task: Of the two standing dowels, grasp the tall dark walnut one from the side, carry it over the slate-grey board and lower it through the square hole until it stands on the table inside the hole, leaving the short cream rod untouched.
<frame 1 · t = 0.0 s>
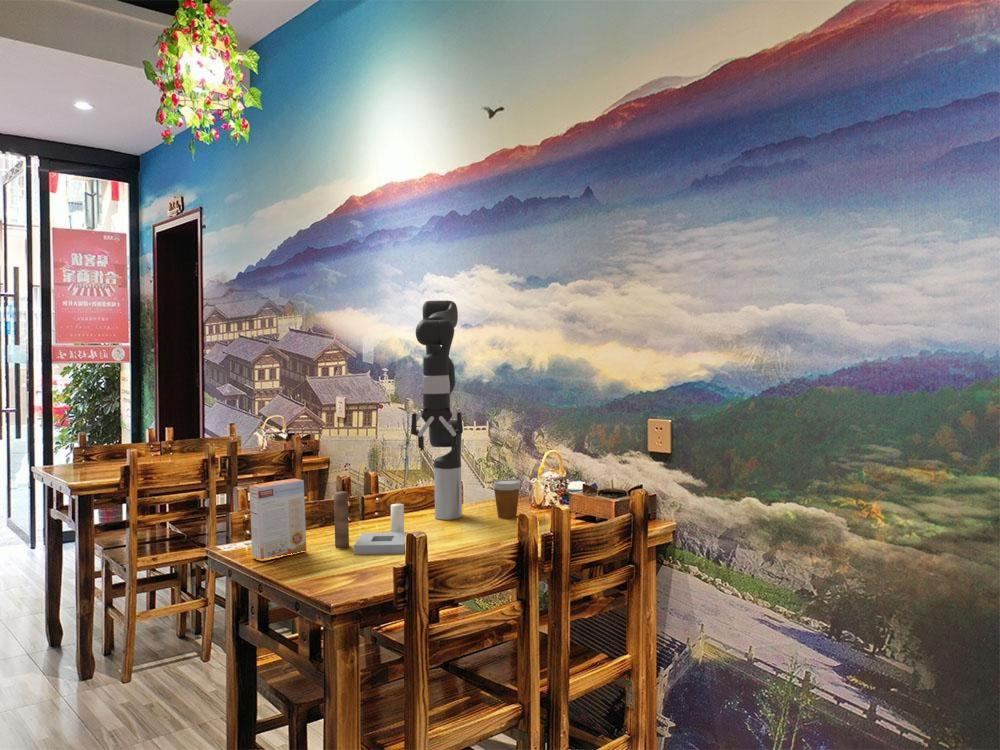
hand: (437, 449, 205), 29 cm above the table, tool pointing down, fingers open, 8 cm apart
disposable coffee cup: (507, 517, 250), on the table
walnut dowel: (342, 547, 215), on the table
cream rod: (397, 537, 225), on the table
board: (382, 547, 214), on the table
cracker box: (279, 556, 207), on the table
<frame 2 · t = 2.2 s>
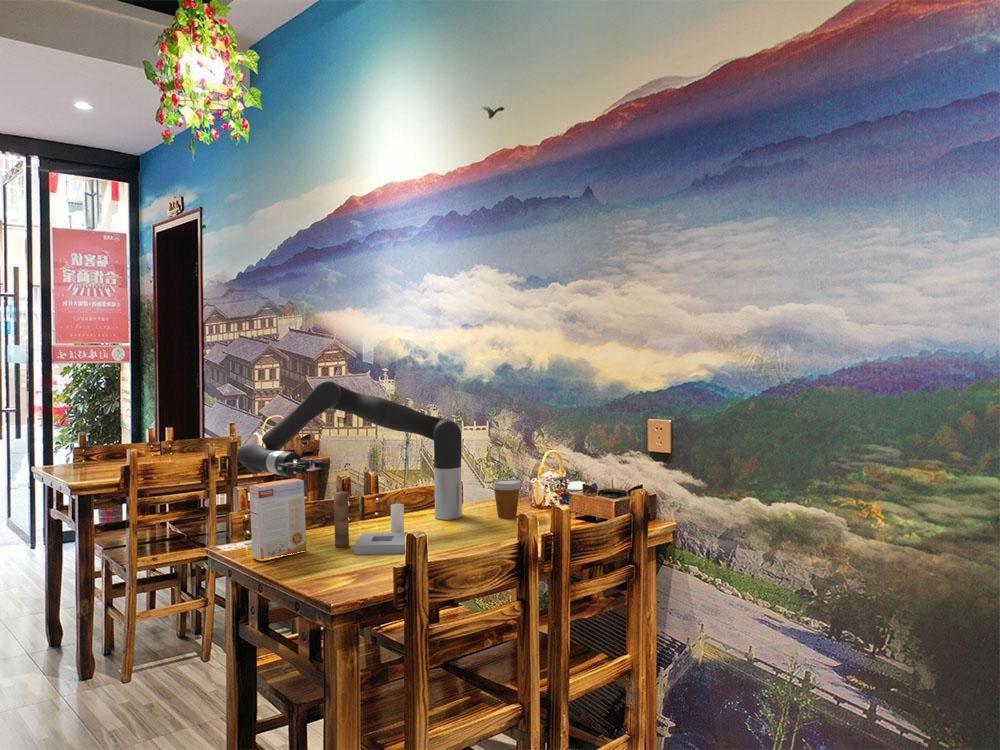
hand: (317, 468, 220), 22 cm above the table, tool horizontal, fingers open, 8 cm apart
nothing on the table moved.
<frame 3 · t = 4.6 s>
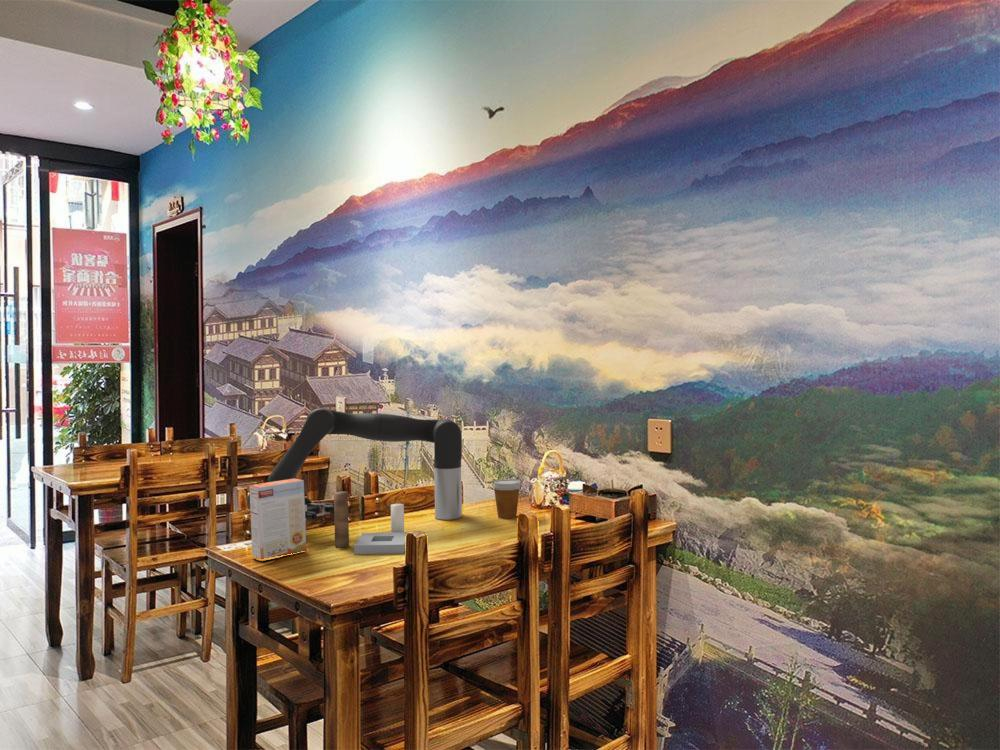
hand: (327, 514, 219), 9 cm above the table, tool horizontal, fingers open, 8 cm apart
nothing on the table moved.
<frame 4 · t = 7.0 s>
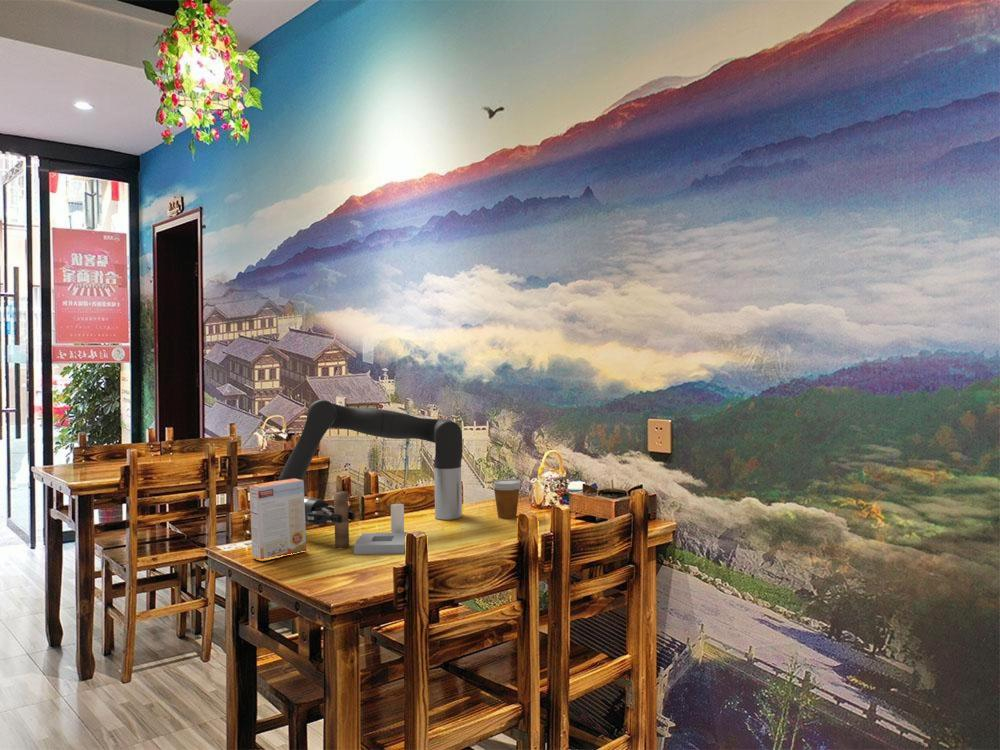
hand: (347, 517, 213), 9 cm above the table, tool horizontal, fingers closed on walnut dowel, 4 cm apart
walnut dowel: (342, 547, 215), on the table, touching gripper
everything else where it was.
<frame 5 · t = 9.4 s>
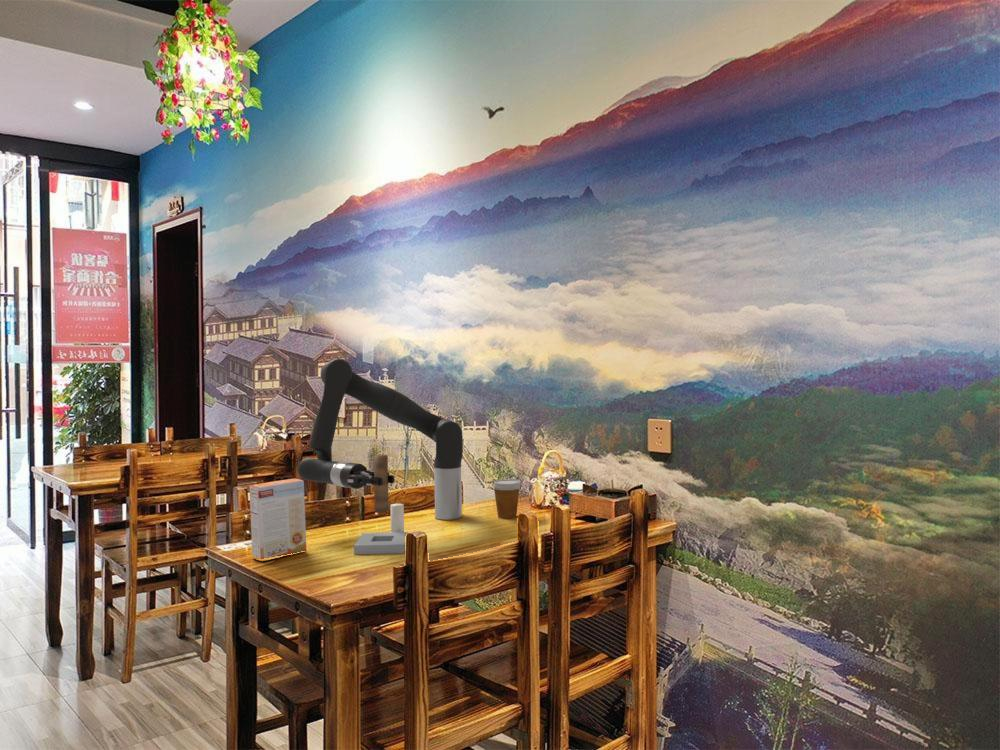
hand: (387, 480, 212), 20 cm above the table, tool horizontal, fingers closed on walnut dowel, 4 cm apart
walnut dowel: (381, 510, 214), point 11 cm above the table, touching gripper
everything else where it was.
when the fingers open (9 cm above the table, at t = 12.1 s): walnut dowel stays where it is, resting in board.
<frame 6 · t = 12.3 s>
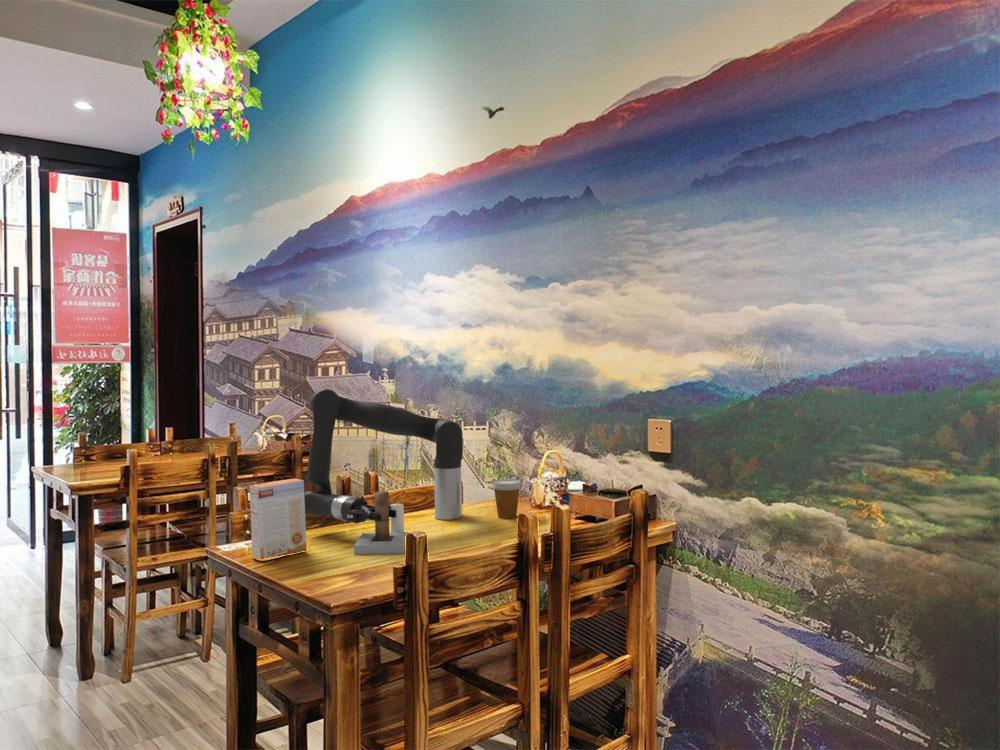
hand: (388, 515, 212), 9 cm above the table, tool horizontal, fingers open, 5 cm apart
walnut dowel: (382, 547, 214), resting in board
everything else where it was.
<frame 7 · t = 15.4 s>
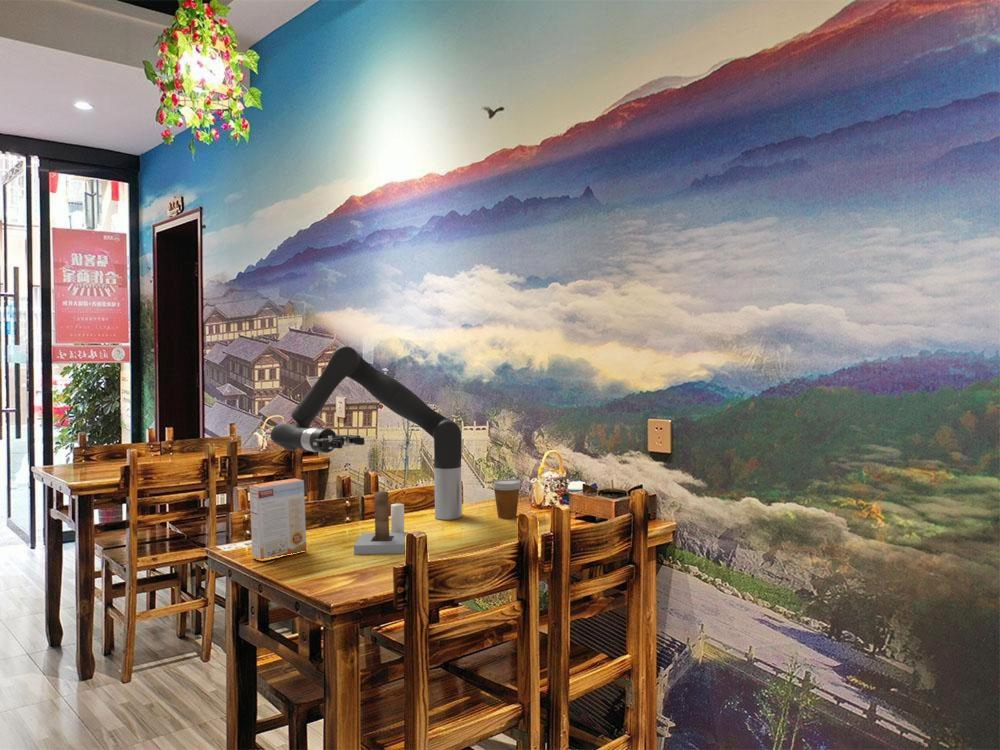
hand: (352, 443, 221), 30 cm above the table, tool horizontal, fingers open, 8 cm apart
nothing on the table moved.
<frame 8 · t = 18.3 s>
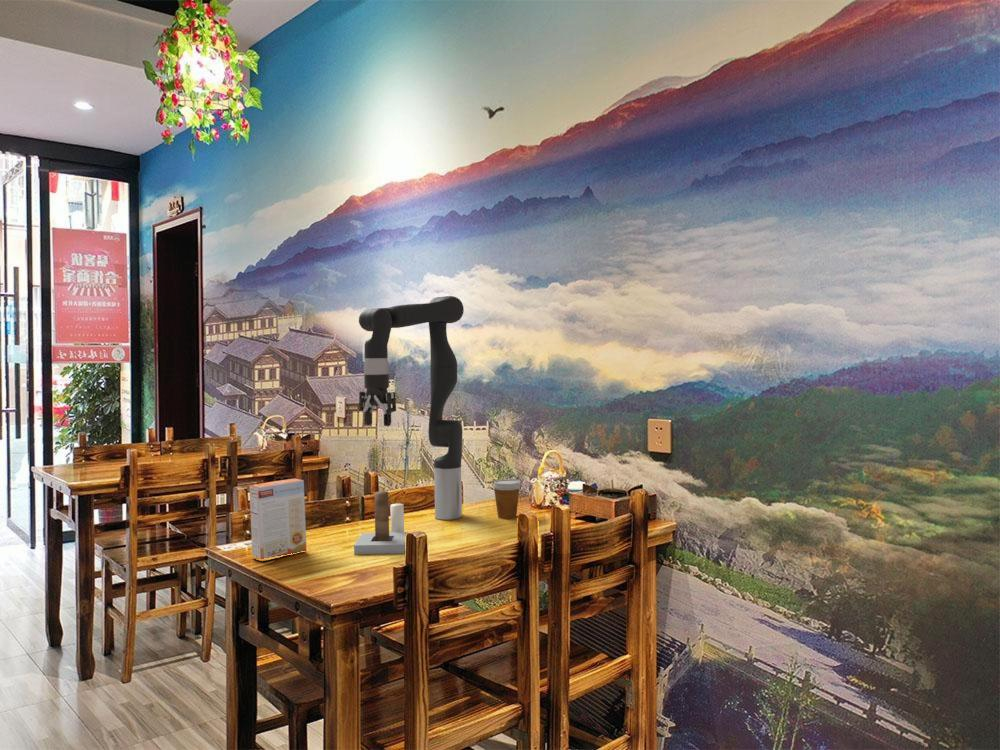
hand: (377, 425, 228), 34 cm above the table, tool pointing down, fingers open, 8 cm apart
nothing on the table moved.
at the end: walnut dowel 0.1 cm off-centre on the board, point 0.0 cm above the board's base; walnut dowel tilted 0°; the gripper is holding nothing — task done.
